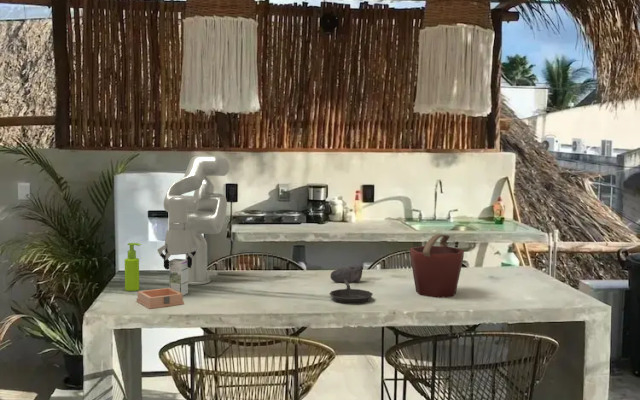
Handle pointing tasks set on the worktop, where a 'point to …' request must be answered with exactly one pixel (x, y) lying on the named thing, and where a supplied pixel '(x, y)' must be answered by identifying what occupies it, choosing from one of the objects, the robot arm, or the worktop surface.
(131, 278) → the soap dispenser
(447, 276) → the bucket
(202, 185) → the robot arm
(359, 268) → the perforated stone tool
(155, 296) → the pink square tray
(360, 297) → the frying pan
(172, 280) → the syrup box
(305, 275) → the worktop surface
